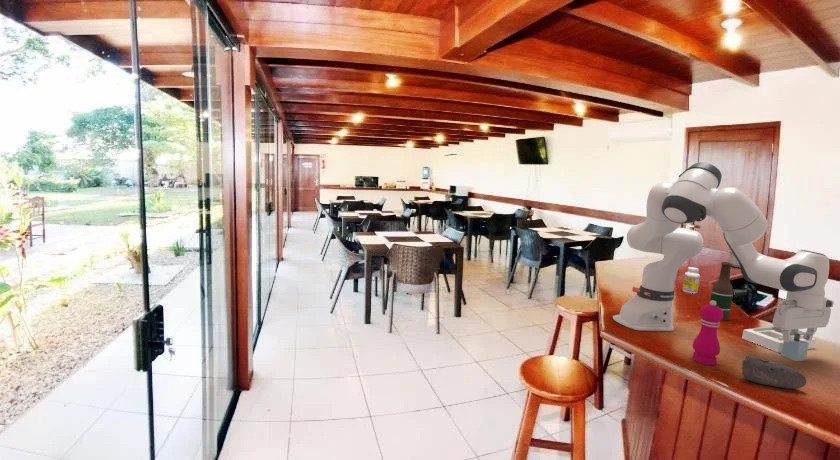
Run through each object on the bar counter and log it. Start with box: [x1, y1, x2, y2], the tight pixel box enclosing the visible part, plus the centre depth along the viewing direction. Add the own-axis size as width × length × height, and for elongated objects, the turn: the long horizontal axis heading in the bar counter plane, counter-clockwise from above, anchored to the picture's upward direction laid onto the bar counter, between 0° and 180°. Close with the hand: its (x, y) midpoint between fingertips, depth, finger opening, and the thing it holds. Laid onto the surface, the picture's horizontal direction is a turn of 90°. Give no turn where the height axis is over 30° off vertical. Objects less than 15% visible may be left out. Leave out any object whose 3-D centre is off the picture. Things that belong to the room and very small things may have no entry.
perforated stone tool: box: [741, 355, 807, 390], centre depth 116 cm, size 15×5×7 cm, turn 63°
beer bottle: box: [708, 261, 734, 321], centre depth 173 cm, size 8×8×24 cm
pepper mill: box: [692, 300, 723, 366], centre depth 129 cm, size 7×7×20 cm
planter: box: [728, 250, 740, 269], centre depth 284 cm, size 13×13×10 cm
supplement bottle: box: [682, 266, 701, 294], centre depth 212 cm, size 7×7×13 cm
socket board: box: [741, 326, 817, 353], centre depth 148 cm, size 18×12×4 cm, turn 106°
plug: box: [781, 333, 809, 362], centre depth 136 cm, size 4×4×8 cm
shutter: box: [774, 327, 806, 336], centre depth 149 cm, size 7×7×3 cm
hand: (797, 340), depth 135 cm, fingers open, 8 cm apart
